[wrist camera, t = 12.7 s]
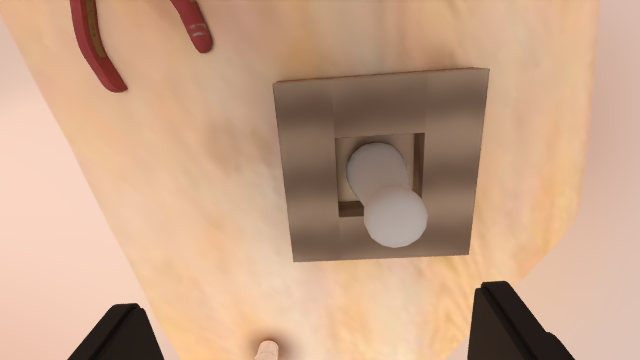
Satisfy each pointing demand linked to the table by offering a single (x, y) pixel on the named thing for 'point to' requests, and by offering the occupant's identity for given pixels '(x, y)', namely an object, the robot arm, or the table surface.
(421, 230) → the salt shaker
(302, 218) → the walnut stand
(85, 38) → the pliers
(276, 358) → the lightbulb
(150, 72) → the table surface
